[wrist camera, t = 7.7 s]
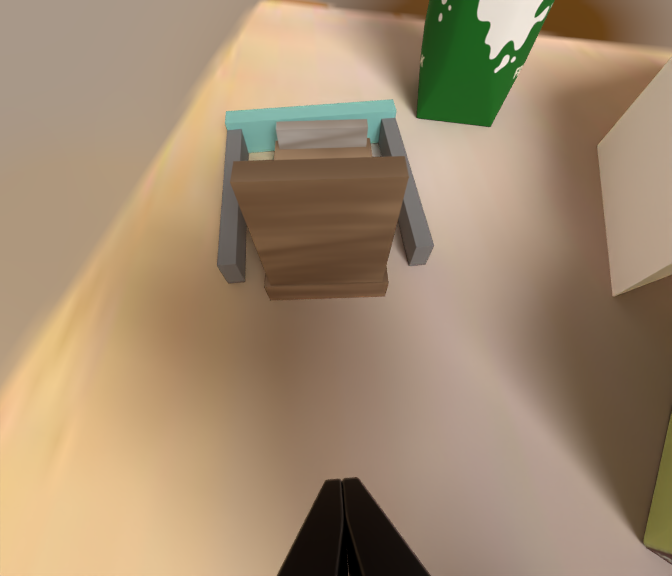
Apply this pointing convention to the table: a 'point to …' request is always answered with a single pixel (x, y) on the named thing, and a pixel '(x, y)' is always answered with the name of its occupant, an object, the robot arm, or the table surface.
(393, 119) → the bay
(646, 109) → the white block
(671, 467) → the protein box
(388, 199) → the wooden drawer
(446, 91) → the milk carton
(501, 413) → the table surface
